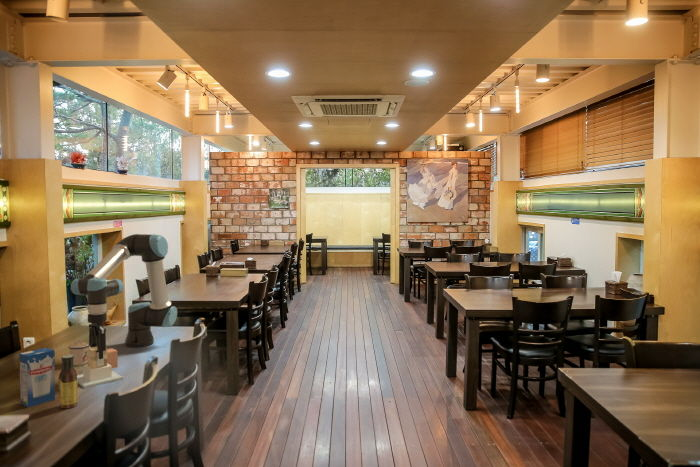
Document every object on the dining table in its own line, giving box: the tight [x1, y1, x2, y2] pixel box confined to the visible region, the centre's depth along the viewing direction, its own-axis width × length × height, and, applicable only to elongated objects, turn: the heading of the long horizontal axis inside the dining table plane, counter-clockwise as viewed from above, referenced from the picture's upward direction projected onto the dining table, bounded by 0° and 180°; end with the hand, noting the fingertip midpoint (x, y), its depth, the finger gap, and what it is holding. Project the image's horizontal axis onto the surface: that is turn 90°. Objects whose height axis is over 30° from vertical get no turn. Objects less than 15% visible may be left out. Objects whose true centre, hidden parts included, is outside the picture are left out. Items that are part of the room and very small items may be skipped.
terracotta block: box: [107, 347, 118, 369], centre depth 234 cm, size 6×6×8 cm
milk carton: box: [19, 347, 56, 408], centre depth 191 cm, size 10×6×20 cm, turn 148°
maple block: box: [87, 347, 108, 369], centre depth 217 cm, size 6×6×8 cm
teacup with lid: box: [68, 339, 90, 367], centre depth 240 cm, size 12×9×12 cm
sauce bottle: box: [58, 354, 79, 409], centre depth 187 cm, size 7×6×20 cm
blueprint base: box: [77, 363, 124, 389], centre depth 217 cm, size 16×16×6 cm
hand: (97, 363), depth 217 cm, fingers open, 6 cm apart
